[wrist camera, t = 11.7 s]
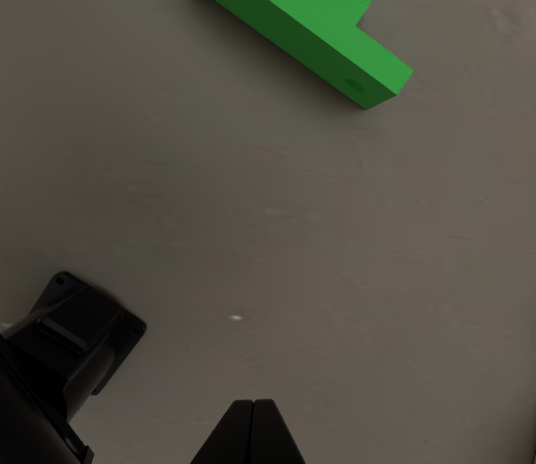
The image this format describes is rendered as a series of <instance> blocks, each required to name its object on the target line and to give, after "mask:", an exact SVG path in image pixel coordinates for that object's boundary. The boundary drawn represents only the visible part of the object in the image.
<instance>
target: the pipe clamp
mask: <svg viewBox="0 0 536 464" xmlns="http://www.w3.org/2000/svg"><path fill="white" fill-rule="evenodd" d="M215 1H216V2H217V3H219V4H220V5H222V6H223V7H224V8H226V9H227V10H228V11H230V12H231V13H233V14H234V15H235V16H237V17H238V18H239V19H241V20H242V21H244V22H245V23H246V24H248V25H249V26H251V27H252V28H253V29H255V30H256V31H257V32H259V33H260V34H262V35H263V36H264V37H266V38H267V39H268V40H270V41H271V42H273V43H274V44H275V45H277V46H278V47H280V48H281V49H282V50H284V51H285V52H286V53H288V54H289V55H291V56H292V57H293V58H295V59H296V60H297V61H299V62H300V63H302V64H303V65H304V66H306V67H307V68H309V69H310V70H311V71H313V72H314V73H315V74H317V75H318V76H320V77H321V78H322V79H324V80H325V81H326V82H328V83H329V84H331V85H332V86H333V87H335V88H336V89H338V90H339V91H340V92H342V93H343V94H344V95H346V96H347V97H349V98H350V99H351V100H353V101H354V102H355V103H357V104H358V105H360V106H361V107H362V108H364V109H365V110H367V109H369V108H371V107H373V106H375V105H377V104H379V103H381V102H383V101H386V100H388V99H390V98H392V97H394V96H396V95H397V94H398V93H399V91H400V90H401V88H402V87H403V86H404V84H405V83H406V81H407V80H408V78H409V77H410V76H411V74H412V73H413V71H414V70H413V69H411V68H410V67H409V66H408V65H406V64H405V63H404V62H402V61H401V60H400V59H398V58H397V57H396V56H394V55H393V54H392V53H390V52H389V51H388V50H386V49H385V48H384V47H383V46H381V45H380V44H379V43H377V42H376V41H375V40H373V39H372V38H371V37H369V36H368V35H367V34H365V33H364V32H363V31H361V30H360V29H359V28H358V27H356V25H357V23H358V22H359V20H360V19H361V17H362V15H363V14H364V12H365V11H366V9H367V8H368V6H369V4H370V3H371V1H372V0H215Z"/></svg>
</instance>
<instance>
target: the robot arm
mask: <svg viewBox="0 0 536 464" xmlns="http://www.w3.org/2000/svg"><path fill="white" fill-rule="evenodd" d="M60 277H61V278H63V279H64V282H62V281H61V279H60ZM135 327H138V328H139V329H140V331H138V330H136V329H135ZM145 331H146V325H145V323H144V322H142V321H141V320H139V319H138V318H136V317H135V316H133V315H132V314H130V313H129V312H127V311H126V310H124V309H123V308H122V307H121V306H119V305H118V304H116V303H115V302H113V301H112V300H110V299H109V298H107V297H106V296H104V295H102V294H101V293H99V292H98V291H96V290H95V289H93V288H92V287H90V286H88V285H86V284H85V283H83V282H82V281H80V280H79V279H77V278H75V277H74V276H72V275H71V274H69V273H68V272H65V271H61V272H59V273H57V274H55V275H54V276H53V277H52V279H51V280H50V282H49V284H48V285H47V287H46V288H45V290H44V291H43V293H42V294H41V296H40V297H39V299H38V301H37V302H36V304H35V305H34V307H33V308H32V310H31V311H30V313H29V314H28V316H27V317H25V318H24V319H22V320H21V321H19V322H18V323H16V324H15V325H13V326H12V327H10V328H9V329H7V330H6V331H4V332H2V333H0V464H92V461H93V457H94V453H93V451H92V450H91V449H90V447H89V446H88V445H87V446H85V445H84V444H83V442H82V441H81V440H80V438H79V437H78V436H77V434H76V433H75V432H74V430H73V429H72V428H71V426H70V425H69V424H68V423H69V422H70V421H71V419H72V418H73V417H74V415H75V414H76V413H77V411H78V410H79V409H80V407H81V406H82V405H83V404H84V402H85V401H86V400H87V398H88V397H89V396H90V395H97V394H99V393H100V391H101V390H102V389H103V387H104V386H105V385H106V383H107V382H108V381H109V379H110V378H111V377H112V375H113V374H114V373H115V372H116V370H117V369H118V368H119V366H120V365H121V364H122V362H123V361H124V360H125V358H126V357H127V356H128V354H129V353H130V352H131V350H132V349H133V348H134V346H135V345H136V344H137V342H138V341H139V340H140V338H141V337H142V336H143V334H144V333H145ZM190 464H306V463H305V461H304V459H303V457H302V455H301V453H300V451H299V449H298V447H297V445H296V443H295V441H294V439H293V437H292V435H291V433H290V431H289V429H288V427H287V426H286V424H285V422H284V420H283V418H282V416H281V414H280V412H279V410H278V408H277V406H276V404H275V402H274V401H273V400H272V399H257V400H255V401H254V402H253V401H252V400H235V401H234V402H233V403H232V404H231V406H230V407H229V409H228V410H227V411H226V413H225V414H224V416H223V417H222V419H221V420H220V421H219V423H218V424H217V426H216V427H215V429H214V430H213V431H212V433H211V434H210V436H209V437H208V439H207V440H206V441H205V443H204V444H203V446H202V447H201V449H200V450H199V451H198V453H197V454H196V456H195V457H194V459H193V460H192V461H191V463H190Z"/></svg>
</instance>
